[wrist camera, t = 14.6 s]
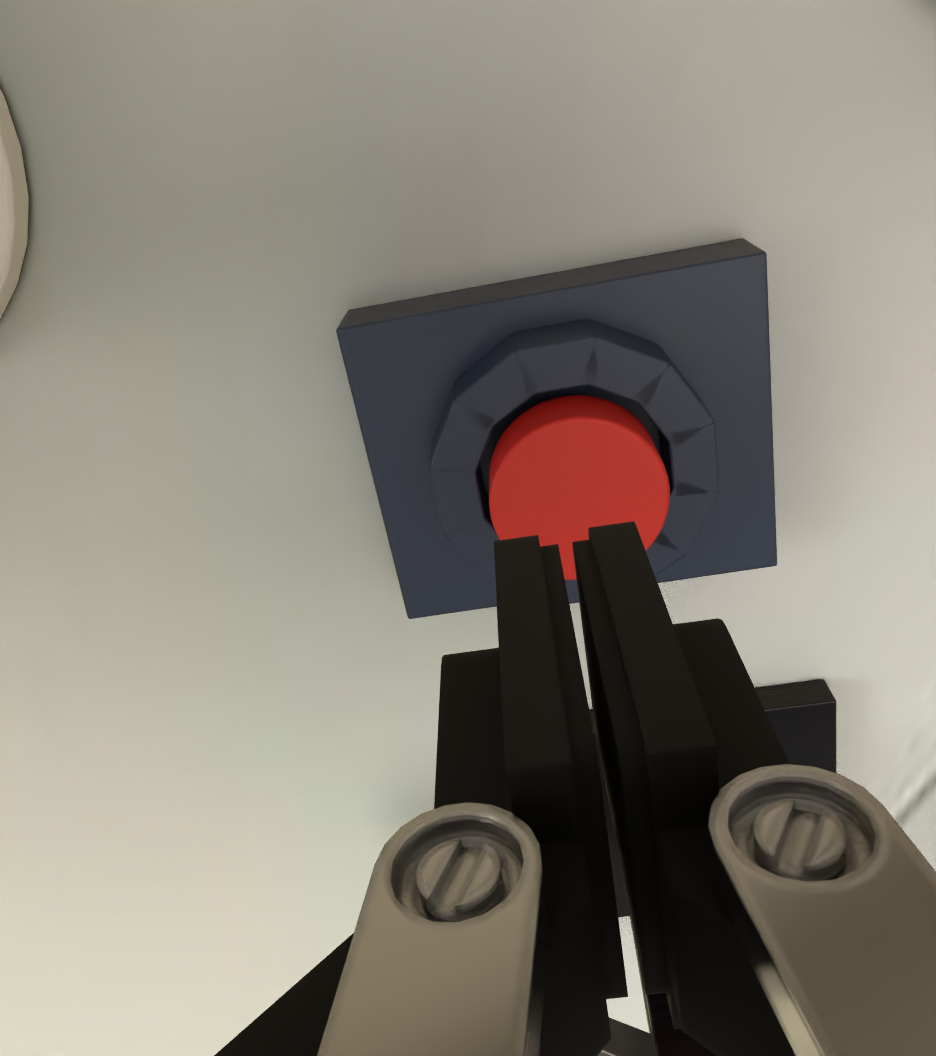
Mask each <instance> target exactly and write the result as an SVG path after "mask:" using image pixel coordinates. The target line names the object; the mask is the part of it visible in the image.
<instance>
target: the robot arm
mask: <svg viewBox="0 0 936 1056" xmlns="http://www.w3.org/2000/svg"><path fill="white" fill-rule="evenodd" d="M28 202H29V196H28V189H27V183H26V176H25V170H24V163H23V157H22V150H21V146H20V143H19V140H18V137H17V134H16V131H15V128H14V125H13V122H12V119H11V116H10V113H9V110H8V106H7V103H6V100H5V97H4V95H3V93H2V91H1V89H0V318H1V316H2V314H3V312H4V310H5V308H6V306H7V304H8V302H9V300H10V298H11V296H12V294H13V292H14V290H15V288H16V286H17V284H18V280H19V276H20V271H21V267H22V263H23V259H24V254H25V250H26V246H27V237H28ZM588 535H589V540H582V541H575V542H572V545H573V554H574V563H575V571H576V579H577V587H578V595H579V603H580V611H581V619H582V627H583V635H584V643H585V651H586V659H587V667H588V675H589V683H590V691H591V699H592V707H593V715H594V723H595V730H596V736H597V743H598V748H599V754H600V759H601V764H602V770H603V775H604V780H605V785H606V791H607V796H608V801H609V806H610V812H611V817H612V822H613V828H614V833H615V838H616V843H617V849H618V854H619V859H620V864H621V870H622V875H623V880H624V886H625V891H626V896H627V901H628V907H629V912H630V917H631V922H632V928H633V933H634V938H635V943H636V949H637V954H638V959H639V965H640V970H641V975H642V980H643V985H644V990H645V994H646V995H650V994H660V993H666V994H667V999H668V1004H669V1008H670V1013H671V1018H672V1022H673V1027H674V1029H682V1032H684V1033H685V1034H687V1035H688V1036H690V1037H691V1038H692V1039H694V1040H695V1041H697V1042H698V1043H700V1044H701V1045H702V1046H704V1047H705V1048H707V1049H708V1050H710V1051H711V1052H712V1053H714V1054H715V1055H717V1056H936V871H935V870H934V869H933V867H932V866H931V865H930V864H929V862H928V861H927V860H926V859H925V857H924V856H923V855H922V854H921V852H920V851H919V850H918V849H917V847H916V846H915V845H914V844H913V842H912V841H911V840H910V839H909V837H908V836H907V835H906V834H905V832H904V831H903V830H902V829H901V827H900V826H899V825H898V823H897V822H896V821H895V820H894V818H893V817H892V816H891V815H890V813H889V812H888V811H887V810H886V808H885V807H884V806H883V805H882V804H881V803H880V802H879V801H878V800H877V799H876V798H875V797H874V796H873V795H871V794H870V793H869V792H868V791H867V790H866V789H865V788H864V787H862V786H860V785H858V784H856V783H855V782H853V781H851V780H849V779H847V778H846V777H844V776H842V775H840V774H837V773H833V772H830V771H827V770H824V769H820V768H817V767H813V766H802V765H792V764H789V761H788V759H787V757H786V755H785V753H784V751H783V748H782V746H781V744H780V742H779V740H778V738H777V735H776V733H775V731H774V729H773V727H772V725H771V722H770V720H769V718H768V716H767V714H766V712H765V710H764V707H763V705H762V703H761V701H760V699H759V697H758V694H757V692H756V690H755V688H754V686H753V684H752V681H751V679H750V677H749V675H748V673H747V671H746V668H745V666H744V664H743V662H742V660H741V658H740V655H739V653H738V651H737V649H736V647H735V645H734V643H733V640H732V638H731V636H730V634H729V632H728V630H727V627H726V626H725V624H724V622H723V621H722V620H721V619H719V618H718V619H711V620H703V621H696V622H688V623H681V624H672V621H671V618H670V616H669V613H668V610H667V608H666V605H665V602H664V599H663V597H662V594H661V591H660V589H659V586H658V583H657V580H656V578H655V575H654V572H653V569H652V567H651V564H650V561H649V559H648V556H647V553H646V550H645V548H644V545H643V542H642V540H641V537H640V534H639V531H638V529H637V526H636V524H635V522H634V521H631V522H624V523H617V524H610V525H603V526H596V527H589V528H588ZM494 557H495V577H496V597H497V618H498V638H499V648H494V649H486V650H479V651H471V652H464V653H456V654H449V655H444V656H443V657H442V664H441V681H440V701H439V722H438V742H437V762H436V783H435V803H434V809H433V810H431V811H428V812H425V813H422V814H420V815H419V816H417V817H416V818H414V819H413V820H411V821H410V822H408V823H407V824H405V825H403V826H402V827H401V828H400V829H399V830H398V831H397V832H396V833H395V834H394V835H393V836H392V837H391V838H390V839H389V840H388V842H387V843H386V844H385V845H384V847H383V849H382V851H381V853H380V855H379V857H378V859H377V861H376V863H375V865H374V869H373V872H372V875H371V879H370V882H369V885H368V889H367V892H366V895H365V899H364V902H363V905H362V909H361V912H360V915H359V918H358V922H357V925H356V928H355V932H354V933H353V934H352V935H351V936H350V937H349V938H347V939H346V940H345V941H344V942H343V943H342V944H341V945H339V946H338V947H337V948H336V949H335V950H334V951H333V952H332V953H330V954H329V955H328V956H327V957H326V958H325V959H324V960H322V961H321V962H320V963H319V964H318V965H317V966H316V967H314V968H313V969H312V970H311V971H310V972H309V973H308V974H307V975H305V976H304V977H303V978H302V979H301V980H300V981H299V982H297V983H296V984H295V985H294V986H293V987H292V988H291V989H289V990H288V991H287V992H286V993H285V994H284V995H283V996H282V997H280V998H279V999H278V1000H277V1001H276V1002H275V1003H274V1004H272V1005H271V1006H270V1007H269V1008H268V1009H267V1010H266V1011H264V1012H263V1013H262V1014H261V1015H260V1016H259V1017H258V1018H257V1019H255V1020H254V1021H253V1022H252V1023H251V1024H250V1025H249V1026H247V1027H246V1028H245V1029H244V1030H243V1031H242V1032H241V1033H239V1034H238V1035H237V1036H236V1037H235V1038H234V1039H233V1040H232V1041H230V1042H229V1043H228V1044H227V1045H226V1046H225V1047H224V1048H222V1049H221V1050H220V1051H219V1052H218V1053H217V1054H216V1055H214V1056H598V1054H599V1053H600V1052H601V1051H602V1049H603V1048H604V1047H605V1046H606V1044H607V1043H608V1042H609V1041H610V1040H611V1031H610V1024H609V1017H608V1010H607V1003H606V999H611V998H621V997H628V993H627V985H626V977H625V969H624V961H623V953H622V945H621V937H620V929H619V921H618V913H617V905H616V897H615V889H614V881H613V873H612V865H611V857H610V849H609V841H608V833H607V825H606V817H605V809H604V801H603V793H602V785H601V778H600V771H599V764H598V758H597V751H596V745H595V740H594V734H593V729H592V723H591V718H590V713H589V707H588V702H587V697H586V691H585V686H584V680H583V675H582V670H581V664H580V659H579V654H578V648H577V643H576V638H575V632H574V627H573V621H572V616H571V611H570V605H569V600H568V595H567V589H566V584H565V579H564V573H563V568H562V562H561V557H560V552H559V546H558V544H554V545H547V546H540V542H539V535H533V536H526V537H519V538H512V539H505V540H498V541H494Z"/></svg>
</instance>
